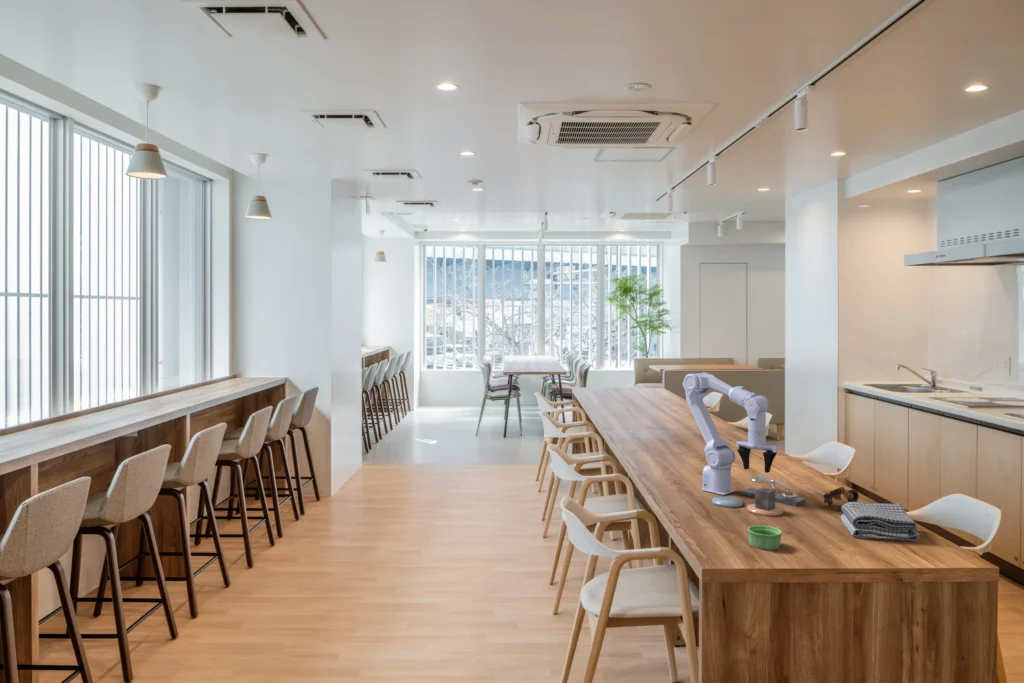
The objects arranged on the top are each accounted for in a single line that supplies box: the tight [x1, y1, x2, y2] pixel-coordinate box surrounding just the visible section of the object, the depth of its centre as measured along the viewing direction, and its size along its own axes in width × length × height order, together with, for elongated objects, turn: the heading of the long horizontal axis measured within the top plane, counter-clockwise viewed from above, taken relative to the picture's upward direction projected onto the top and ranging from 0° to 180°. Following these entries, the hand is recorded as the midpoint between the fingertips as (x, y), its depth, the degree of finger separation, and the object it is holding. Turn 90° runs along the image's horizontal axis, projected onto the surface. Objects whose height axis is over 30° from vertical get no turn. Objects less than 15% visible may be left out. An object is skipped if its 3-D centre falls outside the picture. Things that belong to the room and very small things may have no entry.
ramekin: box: [747, 524, 783, 551], centre depth 195 cm, size 9×9×4 cm
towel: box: [840, 501, 921, 542], centre depth 207 cm, size 15×18×8 cm
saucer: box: [711, 496, 744, 509], centre depth 237 cm, size 10×10×1 cm
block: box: [754, 487, 777, 511], centre depth 228 cm, size 4×4×6 cm
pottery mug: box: [822, 486, 860, 506], centre depth 232 cm, size 12×10×8 cm
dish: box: [746, 503, 784, 517], centre depth 228 cm, size 11×11×1 cm
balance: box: [740, 472, 807, 507], centre depth 244 cm, size 20×7×8 cm, turn 43°
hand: (756, 470), depth 240 cm, fingers open, 7 cm apart
